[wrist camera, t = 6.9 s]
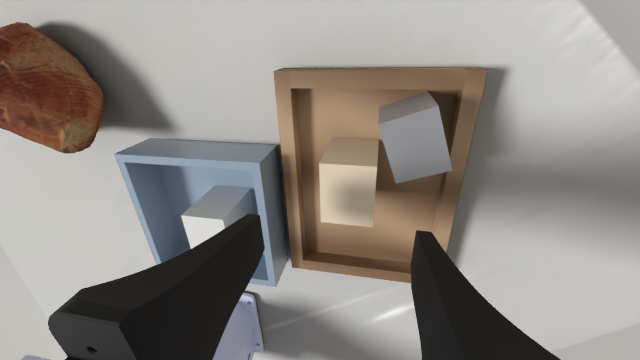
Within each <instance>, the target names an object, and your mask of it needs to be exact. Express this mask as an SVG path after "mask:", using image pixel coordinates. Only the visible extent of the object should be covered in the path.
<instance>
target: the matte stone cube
mask: <svg viewBox="0 0 640 360" xmlns="http://www.w3.org/2000/svg"><path fill="white" fill-rule="evenodd" d="M378 127H379V130H380V134H381V137H382V140H383V143H384V147H385V150H386V153H387V156H388V160H389V163H390V166H391V169H392V173H393V176H394V179H395V182H396V184H397V183H401V182H406V181H410V180H414V179H418V178H423V177H427V176H431V175H435V174H440V173H444V172H448V171H452V166H451V161H450V157H449V152H448V147H447V143H446V138H445V134H444V129H443V124H442V120H441V115H440V111H439V106H438V104H437V103H436V102H435V100H434V99H433V98H432V96H431V95H430V93H429V92H428V91H426V92H423V93H420V94H417V95H414V96H411V97H408V98H405V99H402V100H399V101H396V102H393V103H390V104H387V105H384V106H381V107H379V116H378Z"/></svg>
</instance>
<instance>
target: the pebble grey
mask: <svg viewBox="0 0 640 360" xmlns="http://www.w3.org/2000/svg"><path fill="white" fill-rule="evenodd" d="M247 214H254V207H253V201H252V194H251V188H242V187H230V186H218V185H215V186H213V187H212V188H211V189H210V190H209V191H208V192H207V193H206V194H204V195H203V196H202V197H201V198H200V199H199V200H198V201H197V202H195V203H194V204H193V205H192V206H191V207H190V208H189V209H188V210H186V211H185V212H184V213H183V214H182V215H181V217H182V221H183V224H184V227H185V231H186V234H187V237H188V241H189V244H190V247H191V249H192V248H194V247H195V246H197V245H199V244H200V243H202V242H204V241H206V240H207V239H209V238H211V237H212V236H214V235H216V234H217V233H219V232H220V231H222V230H223V229H225V228H226V227H228V226H229V225H231V224H233V223H234V222H236V221H237V220H239V219H240V218H242V217H244V216H245V215H247Z"/></svg>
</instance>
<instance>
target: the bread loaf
mask: <svg viewBox="0 0 640 360" xmlns="http://www.w3.org/2000/svg"><path fill="white" fill-rule="evenodd" d="M103 114H104V94H103V92H102V90H101V88H100V86H99V85H98V83H97V82H96V81H94V80H93V79H91V77H90V75H89V73H88V72H87V71H86V69H85V68H84V67H83V65H82V64H81V63H80V61H79V60H78V59H77V58H76V57H75V56H74V55H73V54H72V53H70V52H69V51H67V50H65V49H64V48H63V47H62V46H61V45H59V44H58V43H56V42H54V41H52V40H51V39H50V38H49V37H48V36H46V35H45V34H43V33H42V32H40V31H39V30H37V29H35V28H33V27H32V26H30V25H29V24H27V23H20V22H17V23H15V24H10V25H7V26H4V27H1V28H0V128H2V129H5V130H8V131H11V132H13V133H15V134H17V135H19V136H22V137H24V138H26V139H29V140H31V141H34V142H36V143H39V144H42V145H45V146H47V147H50V148H52V149H54V150H56V151H59V152H63V153H75V152H79V151H83V150H84V149H86V148H88V147H90V145H91V144H92V143H93V141H94V139H95V137H96V133H97V131H98V129H99V127H100V124H101V121H102V118H103Z"/></svg>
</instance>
